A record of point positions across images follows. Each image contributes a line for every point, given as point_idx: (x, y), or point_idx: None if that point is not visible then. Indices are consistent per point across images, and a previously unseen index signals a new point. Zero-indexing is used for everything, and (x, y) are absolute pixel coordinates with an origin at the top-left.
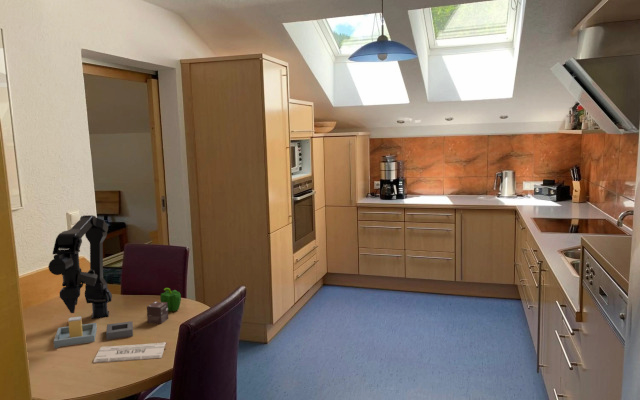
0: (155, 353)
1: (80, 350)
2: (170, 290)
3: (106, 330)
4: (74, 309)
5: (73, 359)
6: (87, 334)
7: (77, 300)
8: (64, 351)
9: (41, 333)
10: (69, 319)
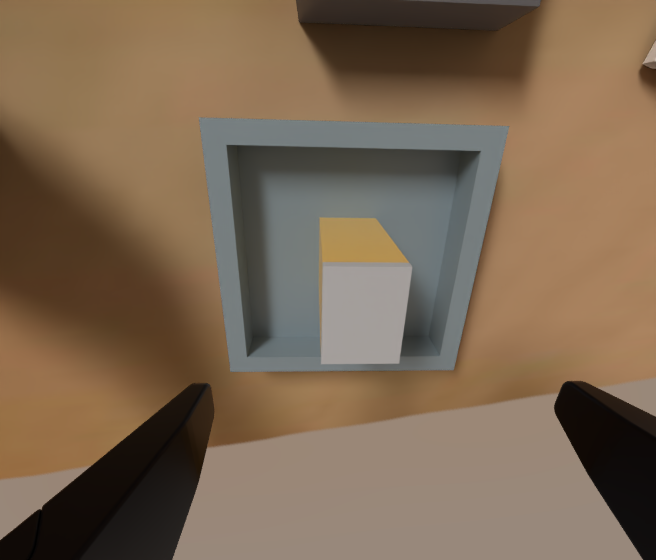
0: None
1: (549, 212)
2: None
3: (468, 2)
4: (652, 415)
5: (652, 240)
6: (335, 184)
7: (154, 421)
8: (506, 293)
9: None
10: (371, 358)
